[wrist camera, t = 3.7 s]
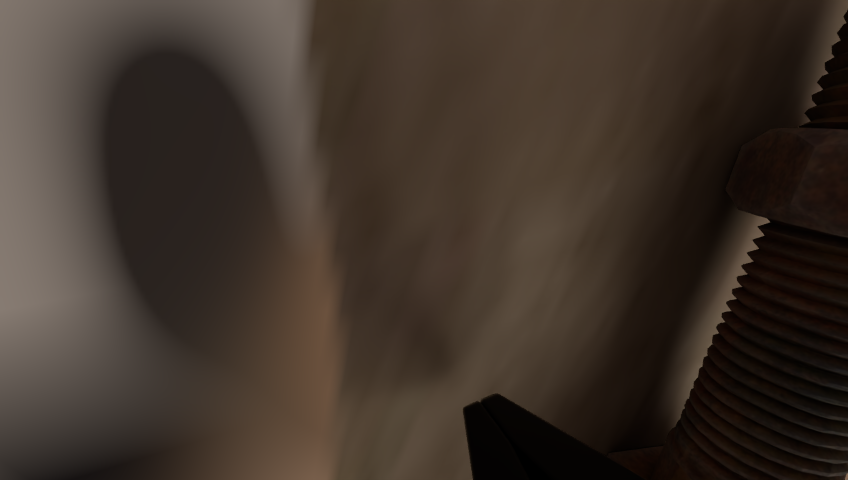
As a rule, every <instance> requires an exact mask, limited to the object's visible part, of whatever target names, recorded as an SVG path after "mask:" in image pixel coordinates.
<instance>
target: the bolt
mask: <svg viewBox="0 0 848 480" xmlns="http://www.w3.org/2000/svg"><path fill="white" fill-rule="evenodd" d="M844 19H845V21H846V24H844V25H843V26H842V27H841V29H840V30H839V31H838V33H837V34H838V36H839V38H840V41H839V42H837V43H836V44H834V45H833V46H832V55H833V56H834V58H832V59H831V60H829V61H827V62H825V70H826V71H827V72H828V73H829V74H826V75H824V76H822V77H821V78H820V79H819V80H818V82H817V83H818V84H819V85H820V86H821V88H822V89H823V90H822V91H820V92H817V93H815V94H813V95H812V101H813V102H814V103H815V104H816V105H817V106H815V107H812V108H810V109H808V110H807V111H806V112H805V113H804V114H805V115H806V116H807V117H808V118H809V120H810V121H811V122H808V123H806V124H803V125H801V126H799V128H776V129H771V130H768V131H767V132H765V133H763V134H762V135H760V136H758V137H757V138H755V139H753V140H751V141H749V142H748V143H746V144H744V145H742V147H741V149H740V152H739V155H738V157H737V160H736V163H735V165H734V168H733V171H732V173H731V176H730V178H729V181H728V184H727V186H726V189H725V190H726V191H727V193H728V194H729V196H730V197H731V199H732V200H733V202H734V203H735V205H736V206H737V208H738V210H741V211H745V212H748V213H751V214H754V215H757V216H761V217H765V218H767V219H768V220H769V221H770V223H767V224H764V225H761V226H758V228H759V229H760V230H761V231H762V233H763V234H764V235H765V236H763V237H759V238H756V239H753V242H754V243H755V244H756V245H757V246H758V248H759V249H757V250H754V251H750V252H747V254H748V255H749V256H750V258H751V259H752V260H753V261H754V262H751V263H747V264H743V265H741V266H742V268H743V269H744V270H745V272H746V273H747V275H742V276H738V277H737V281H738V283H739V284H740V285H741V286H742V287H739V288H735V289H732V294H733V295H734V296H735V297H736V298H737V299H735V300H729V301H727V302H726V304H727V305H728V307H729V308H730V309H731V311H730V312H724V313H722V318H723V319H724V321H725V322H724V323H720V324H718V325H717V327H716V328H717V330H718V332H719V334H715V335H713V339H712V343H713V344H712V345H711V346H710V347H709V348H708V350H707V355H708V356H706V357H704V359H703V367H701V368H700V369H699V374H698V378H697V379H696V380H695V381H694V388H693V389H691V391H690V396H689V399H687V400H686V403H685V405H684V406H685V409H683V410H682V414H681V419H680V420H679V421H678V422H677V425H676V427H674V428H673V429H672V430H671V431H670V432H669V434H668V437H667V439H666V441H665V444H664V446H657V447H650V448H642V449H635V450H628V451H621V452H613V453H608V456H607V457H608V458H610V459H612V460H614V461H615V462H617V463H619V464H621V465H622V466H624V467H626V468H627V469H629V470H631V471H633V472H634V473H636V474H638V475H639V476H641V477H643V478H645V479H646V480H845V477H846V474H847V473H848V10H847V12H846V13H845V15H844Z"/></svg>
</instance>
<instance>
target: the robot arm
mask: <svg viewBox="0 0 848 480" xmlns="http://www.w3.org/2000/svg"><path fill="white" fill-rule="evenodd" d="M463 414H464V421H465V428H466V435H467V442H468V449H469V456H470V463H471V470H472V476H473V480H646V479H645V478H643V477H641V476H639V475H638V474H636V473H634V472H633V471H631V470H629V469H627V468H626V467H624V466H622V465H621V464H619V463H617V462H615V461H614V460H612V459H610V458H608V457H607V456H605V455H603V454H602V453H600V452H598V451H596V450H595V449H593V448H591V447H589V446H588V445H586V444H584V443H583V442H581V441H579V440H577V439H576V438H574V437H572V436H570V435H569V434H567V433H565V432H564V431H562V430H560V429H558V428H557V427H555V426H553V425H551V424H550V423H548V422H546V421H545V420H543V419H541V418H539V417H538V416H536V415H534V414H532V413H531V412H529V411H527V410H526V409H524V408H522V407H520V406H519V405H517V404H515V403H514V402H512V401H510V400H508V399H507V398H505V397H503V396H501V395H500V394H492V395H490V396H488V397H486V398H483V399H482V400H481V402H479V401H476V402H474V403H472V404H469V405H467V406H465V407H464V408H463Z"/></svg>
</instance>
